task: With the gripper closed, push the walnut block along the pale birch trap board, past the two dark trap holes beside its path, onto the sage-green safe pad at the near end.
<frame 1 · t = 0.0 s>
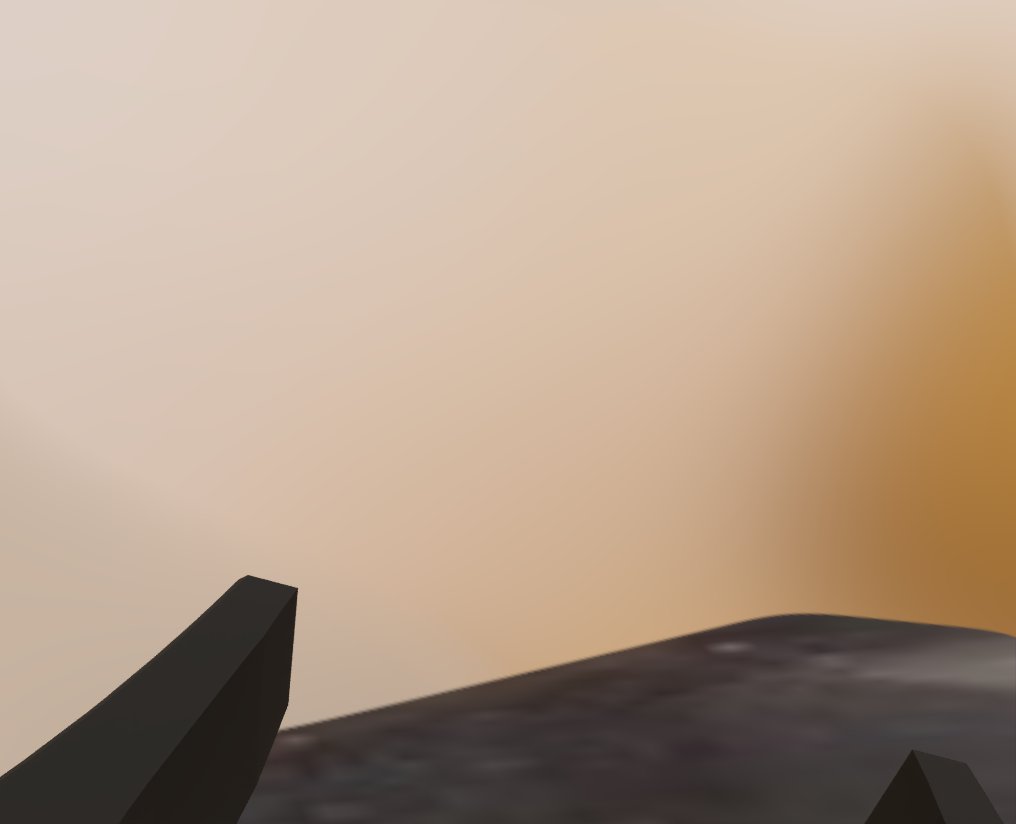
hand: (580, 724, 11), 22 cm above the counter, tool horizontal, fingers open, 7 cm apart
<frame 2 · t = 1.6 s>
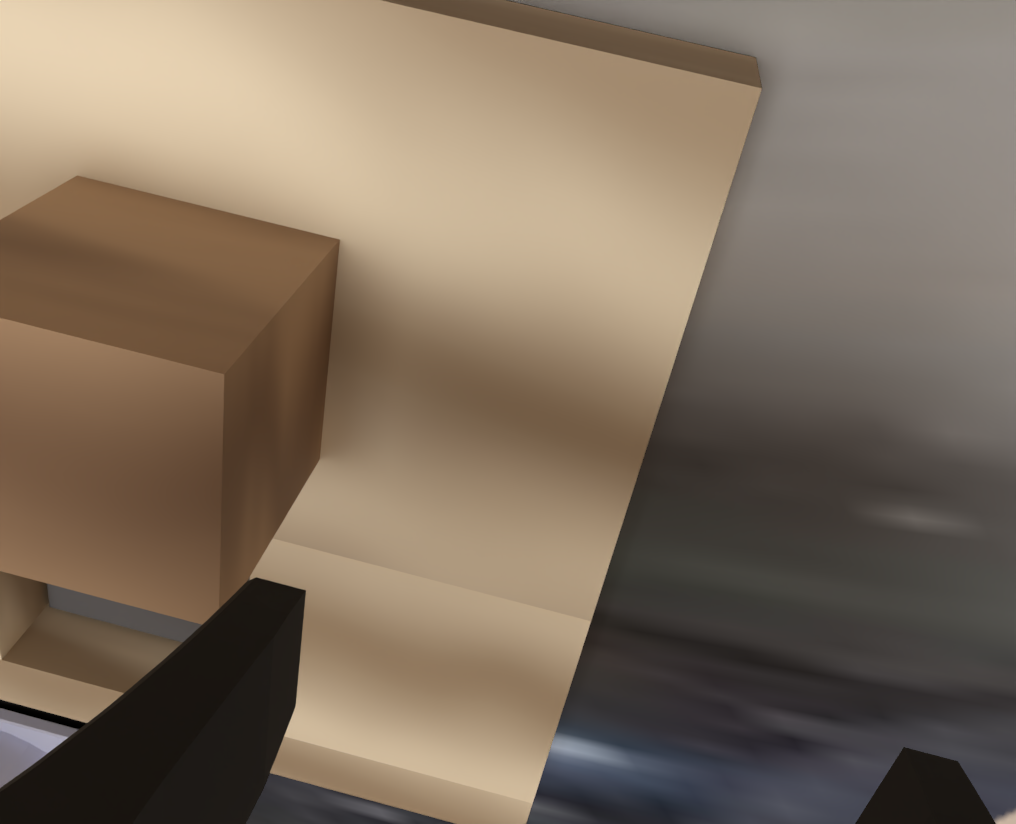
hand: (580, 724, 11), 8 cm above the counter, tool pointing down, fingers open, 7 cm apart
block: (206, 326, 17), point 2 cm above the counter, touching trap board
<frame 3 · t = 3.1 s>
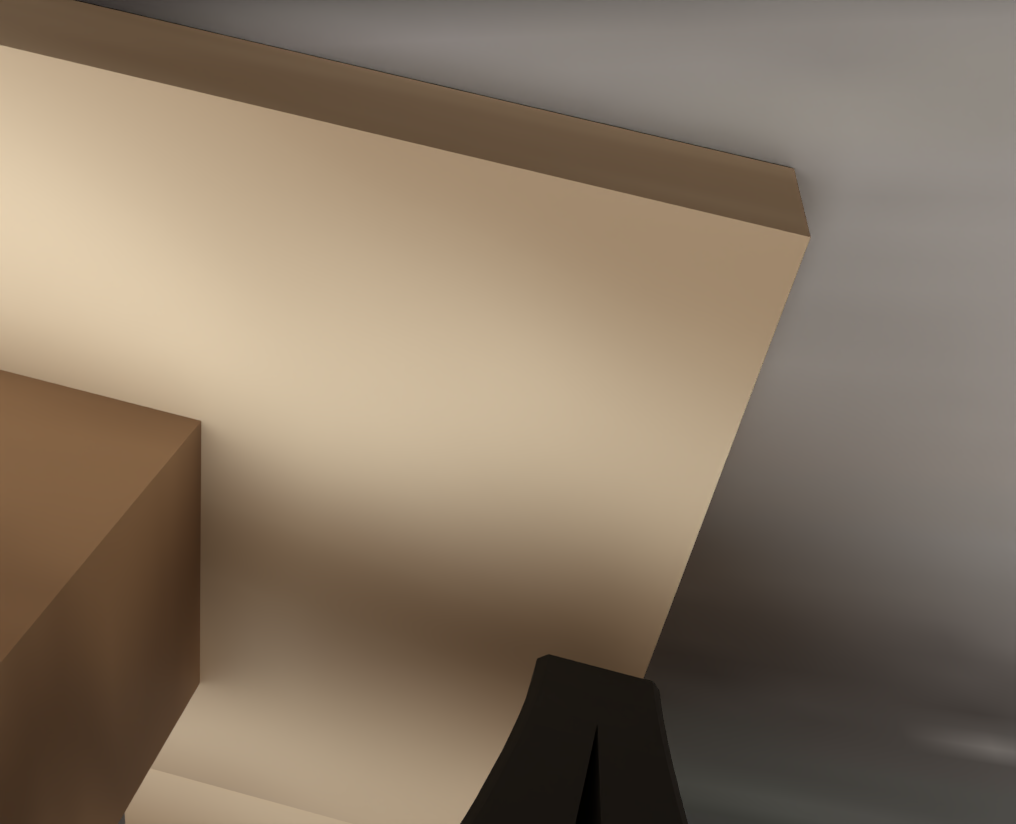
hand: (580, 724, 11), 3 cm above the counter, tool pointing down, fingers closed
block: (33, 521, 12), point 2 cm above the counter, touching trap board
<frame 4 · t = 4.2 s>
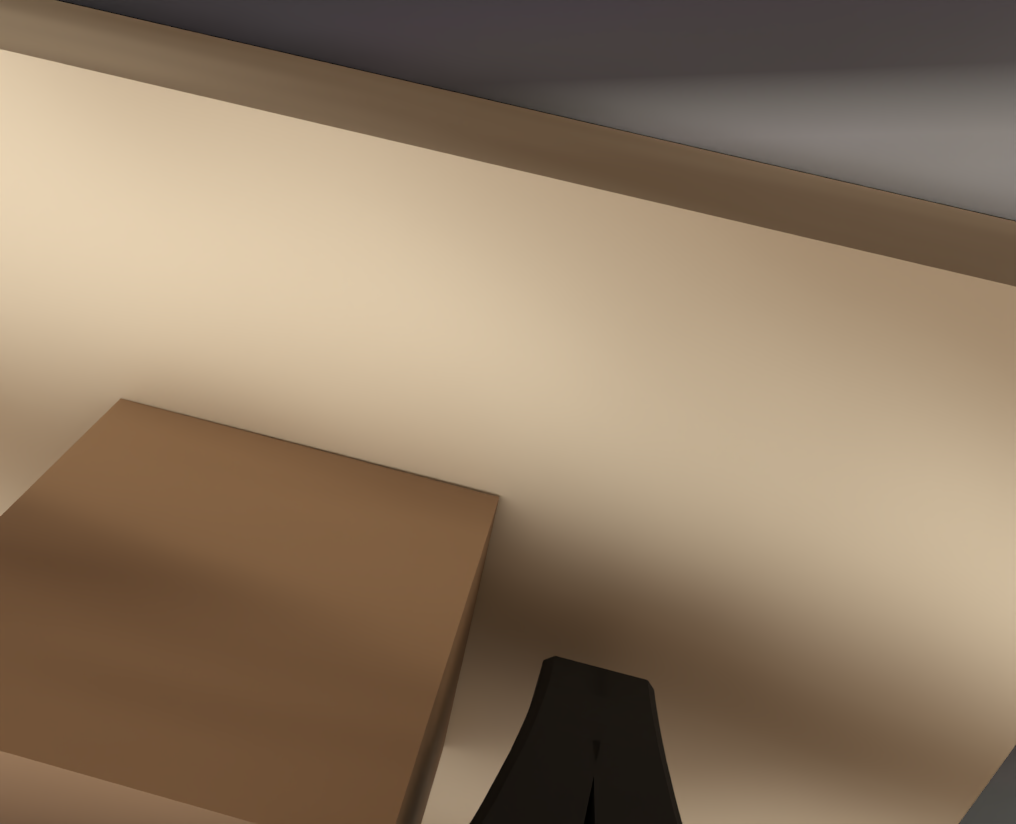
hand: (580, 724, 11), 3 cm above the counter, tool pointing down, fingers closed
block: (296, 589, 12), point 2 cm above the counter, touching gripper
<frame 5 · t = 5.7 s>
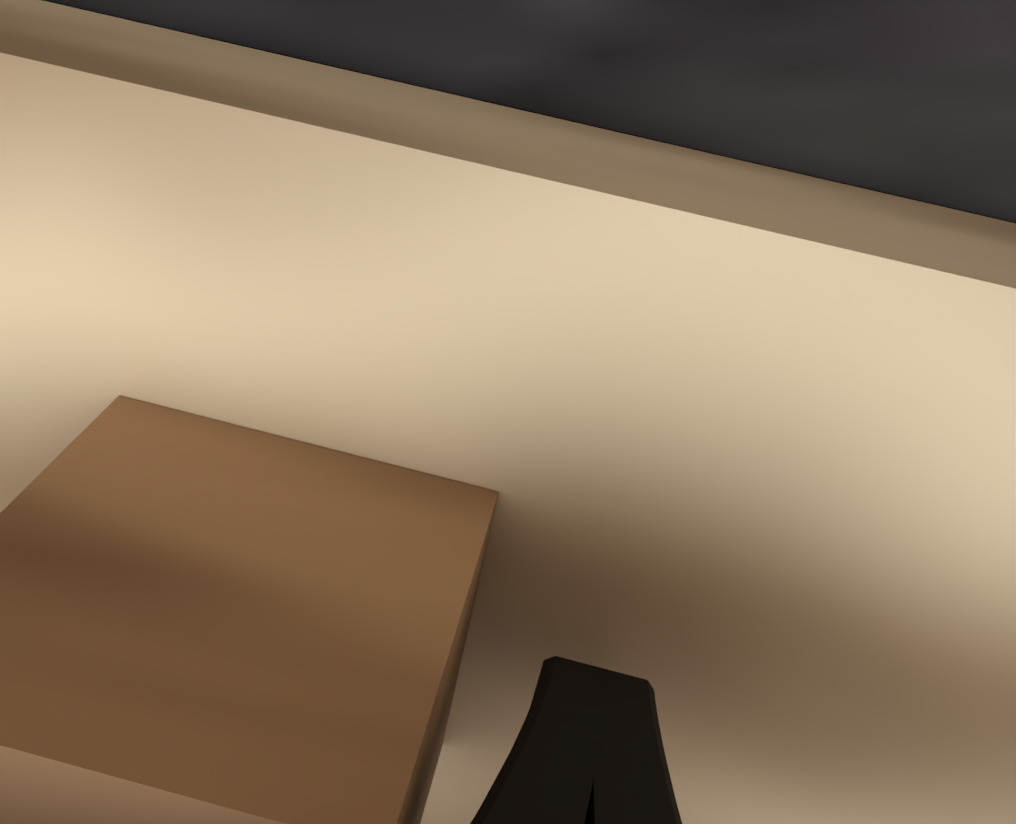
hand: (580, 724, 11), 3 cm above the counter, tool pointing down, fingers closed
block: (295, 586, 12), point 2 cm above the counter, touching gripper
trap board: (611, 716, 15), on the counter
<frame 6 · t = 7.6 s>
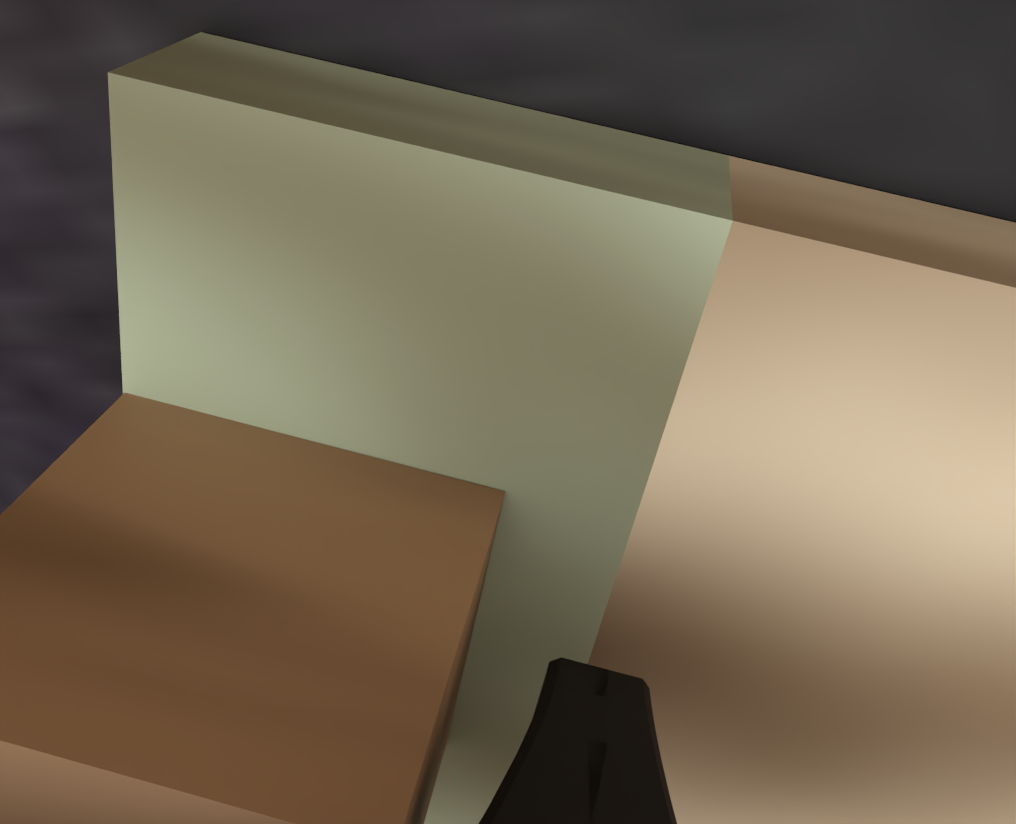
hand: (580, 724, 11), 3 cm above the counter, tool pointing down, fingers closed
block: (300, 584, 12), point 2 cm above the counter, touching gripper, trap board
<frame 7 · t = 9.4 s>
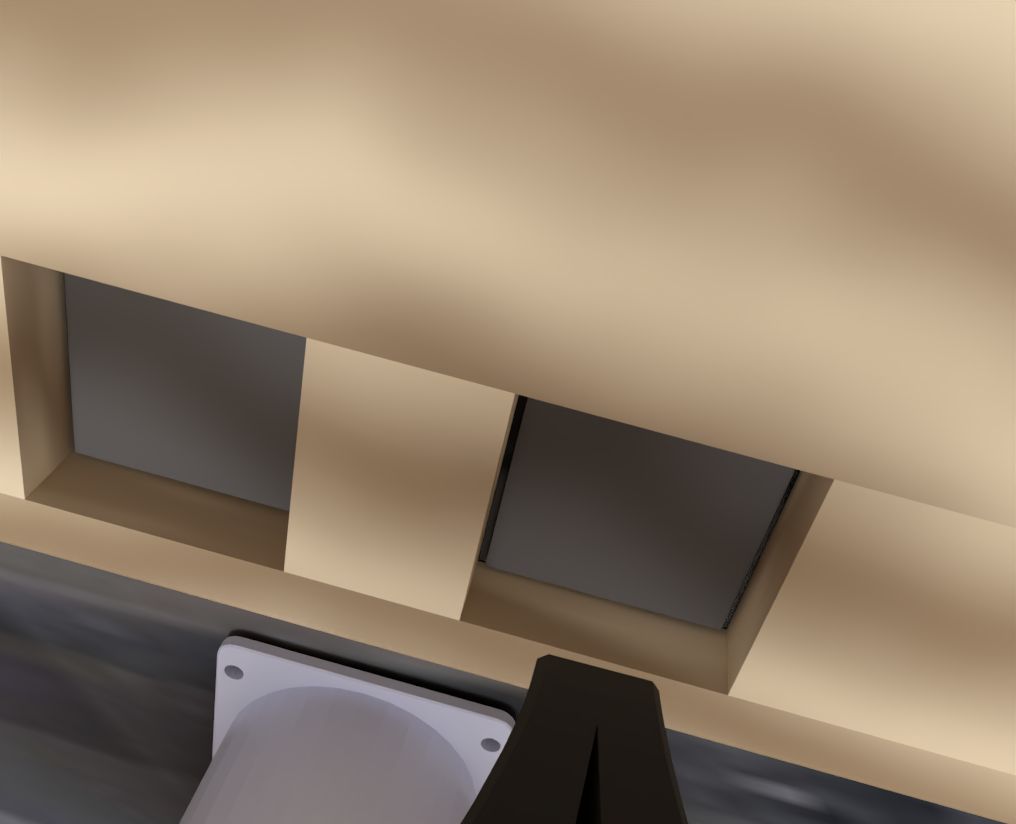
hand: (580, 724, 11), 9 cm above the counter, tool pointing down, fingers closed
trap board: (448, 250, 19), on the counter
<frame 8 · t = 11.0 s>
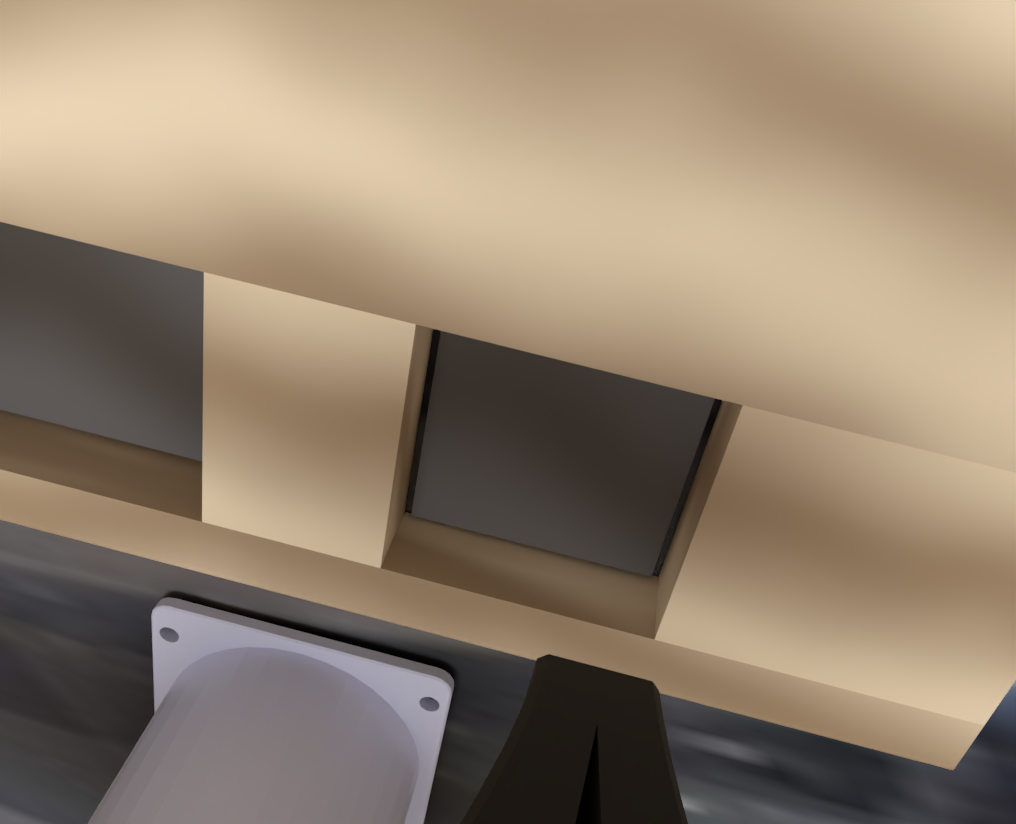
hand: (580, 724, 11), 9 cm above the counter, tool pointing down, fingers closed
trap board: (350, 183, 18), on the counter
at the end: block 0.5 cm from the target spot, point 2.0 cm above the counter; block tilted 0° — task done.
